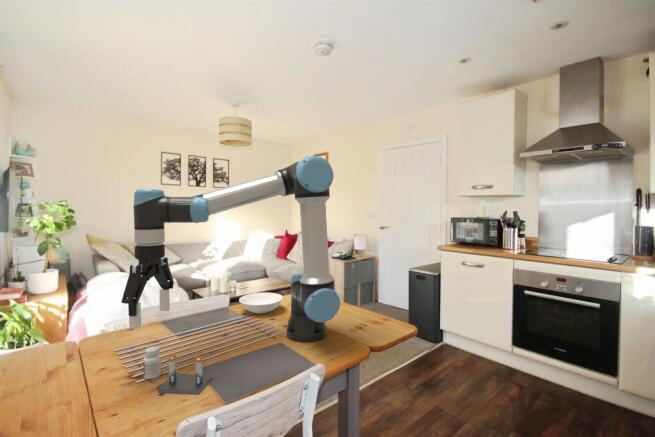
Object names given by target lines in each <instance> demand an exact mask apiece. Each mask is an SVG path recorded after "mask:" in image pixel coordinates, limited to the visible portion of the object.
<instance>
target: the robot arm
mask: <svg viewBox="0 0 655 437" xmlns="http://www.w3.org/2000/svg"><path fill="white" fill-rule="evenodd" d="M333 180H334V170H333V168H332V166H331V164H330V163H329V161H328V160H326V159H325V158H324V157H321V156H317V155H310V156H305V157H303V158H301V159H300V160H298V161H295V162H294V163H292V164H291V165H288V166H287V167H286V166H285V167H284V168H281V169H278V170H275V171H274V174H270V175H268V176H263V177H260V178H256V179H253V180H252V179H251V180H249V181H245V182H241V183H237V184H235V185H234V184H233V185H230V186H228V187H223V188H220V189H219V188H218V189H215V190H212V191H208V192H204V193H202V194H198V195H193V196H166V195H165V191H164V190H163V189H156V188H155V189H154V188H153V189H151V188H141V189H140V188H139V189H136V190H135V191H134V196H133V205H132V206H133V229H134V244H136V245H135V246H134V248H133V250H134V258H135V259H136V260H137V261H138V264H130V266H129V274H128V277H127V281H126V284H125V288H124V291H123V295H122V298H121V304H124V305H126V304H127V308H128V311H127V312H128V322H129V323H128V325H129V329H131V328H132V329H140V328H142V311H141V310H142V305H141V302H140V298H141V297H142V294H143V292H144V289H145V287H146V285H147V282H149V281H150V280H151V279H152V278H153V277H154V279H155V281H156V282H157V283H158V285H159V286H160V288H161V289H159V312H169V311H170V310H171V309H170V308H171V306H170V301H171V300H170V289H171V290H172V289H174V284H175V281H174V278H173V275H172V271H171V269H170V266H169V258H168V257H165V256H166V246H165V244H164V243H165V242H166V239H165V238H166V236H165V235H166V233H165V231H166V230H165V224H166V223H167V224H171V223H173V224H174V223H177V224H178V223H182V224H184V223H187V224H188V223H190V224H191V223H194V224H198V223H207V222H208V221H209V216H211V215H216V214H219V213H223V212H226V211H229V210H232V209H236V208H238V207H242V206H245V205H249V204H253V203H257V202H260V201H263V200H266V199H270V198H274V197H277V196H281V197H286V196H290V195H294V199H295V201H297V203H298V204H299V209H300V210H299V215H300V230H301V231H300V232H301V245H302V247H301V248H302V263H303V273H295V274H293V275H292V276H291V278H290V309H291V310H290V316H289V320H288V323H287V326H286V334H285V335H286V337H287V338H288V339H290V340H292V341H294V342H301V343H309V342H315V341H319V340H322V339H324V338H325V337H326V336H327V326H326V322H329V321H330V320H332V319H333V318H334V317H335V316H336V315H337V314H338V312H339V310H340V309H341V298H340V296H339V294H338V292H337V291H336V285H335V276H333V275H332V274H331V273H330V260H329V259H330V258H329V245H328V244H329V243H328V240H329V239H328V225H327V223H328V222H327V206H326V205H327V204H326V203H327V201H328V200H329V199H330V197H331V195H330V187H331V185H332V184H333Z"/></svg>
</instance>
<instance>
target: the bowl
mask: <svg viewBox="0 0 655 437" xmlns="http://www.w3.org/2000/svg"><path fill="white" fill-rule="evenodd" d="M283 300H284V296H283V295H282V294H279V293H275V292H254V293H249V294H245V295H243V296H241V297H239V299H238V302H239V303H241V306H242V308H243V309H245V310H246V311H247V312H250V313H252V314H256V315H257V314H258V315H260V314H267V313H270V312H272V311H274V310H275V309H276V308H278V307H279V306H280V305H281V302H282V301H283Z"/></svg>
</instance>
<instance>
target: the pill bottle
mask: <svg viewBox="0 0 655 437" xmlns="http://www.w3.org/2000/svg"><path fill="white" fill-rule="evenodd" d="M144 351H145V352H144V355H145V357H144V358H143V359H142V360H143V362H142V363H143V378H144V379H146V380H153V379H156V378H159V377H160V376H161V375H162V358H161V357H162V356H161V354H160V348H159V347H158V346H150V347H147V348H146V349H145V350H144Z"/></svg>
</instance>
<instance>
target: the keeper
mask: <svg viewBox="0 0 655 437" xmlns="http://www.w3.org/2000/svg"><path fill="white" fill-rule="evenodd" d="M167 358H168V359H167V360H168V378H167V379H166V380H165V381H164V382H163V383H162V385H160V386H159V387H158V388H157V393H160V394H180V395H182V394H183V395H184V394H186V395H200V394H201V392H203V390H205V388H206V386H207V385H208V383H210V381H211V380H212V379H213V374H212V373H210V374H209V373H204V371H203V370H204V369H203V360H204V357H203V356H201V355H200V356H199V355H198V356H195V358H194V362H195V363H194V364H195V365H194V366H195V369H194V370H195V372H194V373H189V372H188V373H184V372H183V373H182V372H177V355H174V354H173V355H170V356H168V357H167ZM211 378H212V379H211ZM210 379H211V380H210Z"/></svg>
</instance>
